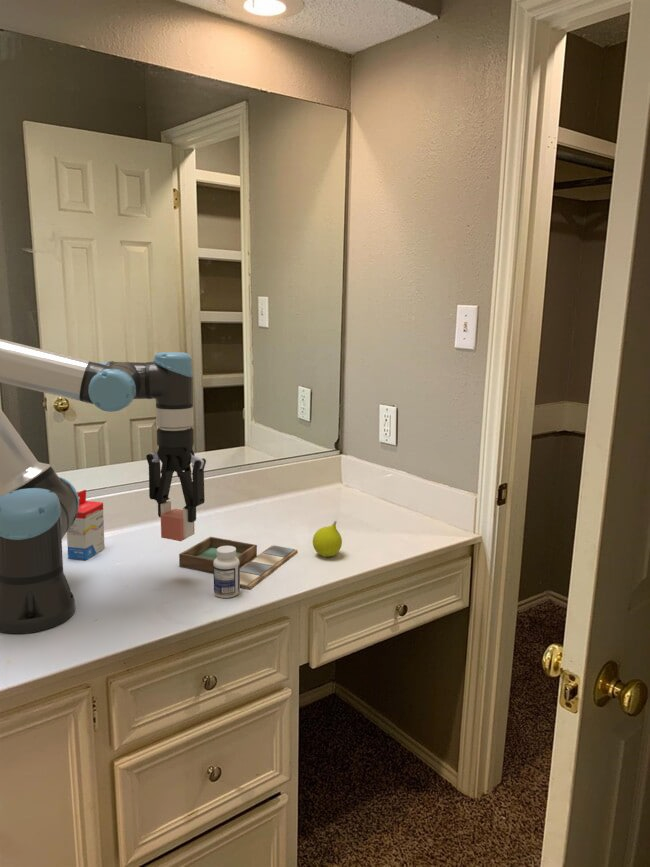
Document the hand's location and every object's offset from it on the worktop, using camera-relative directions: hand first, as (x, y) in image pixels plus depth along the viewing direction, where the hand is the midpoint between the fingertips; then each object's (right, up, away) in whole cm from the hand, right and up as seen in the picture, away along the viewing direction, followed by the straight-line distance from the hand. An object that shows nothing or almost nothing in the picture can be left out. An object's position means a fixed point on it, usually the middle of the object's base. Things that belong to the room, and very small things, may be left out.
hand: (177, 533), depth 140 cm
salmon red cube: (0, -1, 0) cm, 1 cm away
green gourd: (+32, -8, +19) cm, 38 cm away
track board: (+17, -9, +10) cm, 22 cm away
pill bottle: (+11, -12, -4) cm, 17 cm away
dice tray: (+7, -9, +13) cm, 17 cm away
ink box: (-25, -7, +16) cm, 31 cm away
